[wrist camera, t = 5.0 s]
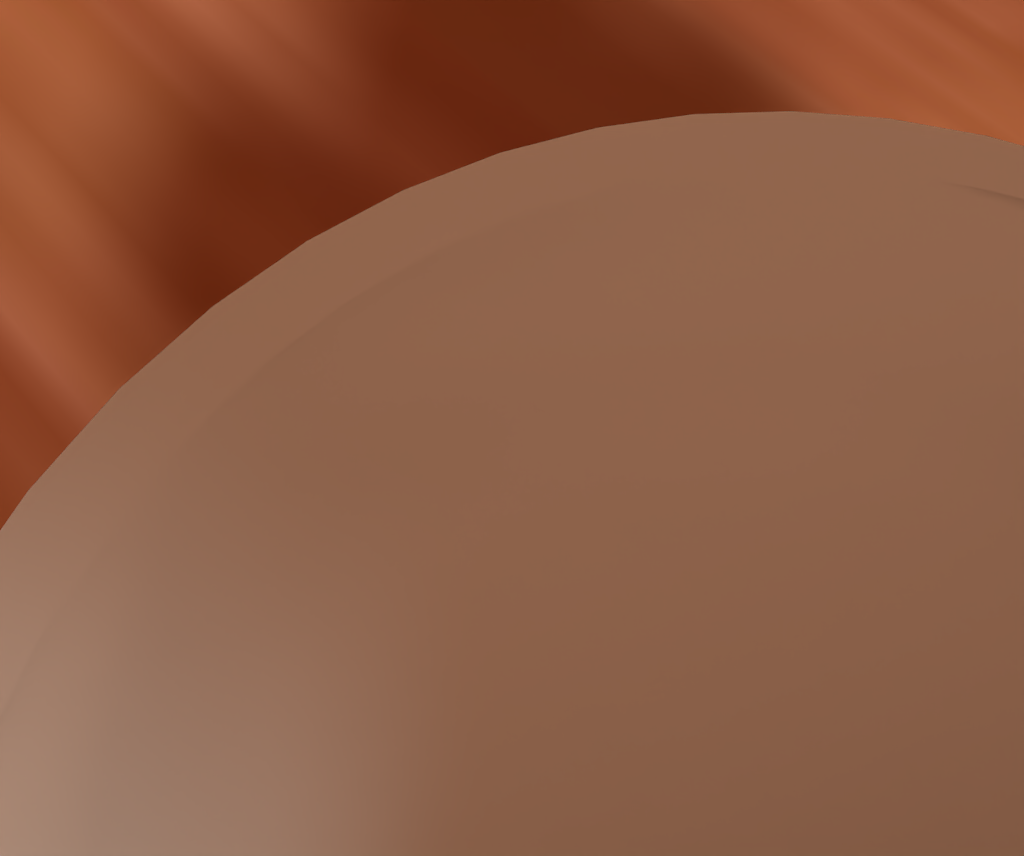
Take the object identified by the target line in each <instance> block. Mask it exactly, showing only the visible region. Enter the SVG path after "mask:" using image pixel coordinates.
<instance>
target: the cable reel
mask: <svg viewBox="0 0 1024 856" xmlns="http://www.w3.org/2000/svg"><path fill="white" fill-rule="evenodd" d="M0 856H1024V146H1021V145H1018V144H1014V143H1011V142H1007V141H1003V140H1000V139H996V138H993V137H989V136H985V135H979V134H974V133H968V132H962V131H957V130H951V129H945V128H940V127H934V126H928V125H923V124H917V123H912V122H906V121H900V120H895V119H889V118H876V117H862V116H849V115H836V114H822V113H809V112H796V111H781V112H747V113H714V114H691V115H684V116H677V117H670V118H663V119H656V120H649V121H641V122H634V123H627V124H620V125H613V126H606V127H599V128H594V129H590V130H586V131H582V132H579V133H575V134H571V135H567V136H563V137H559V138H555V139H551V140H547V141H544V142H540V143H536V144H532V145H528V146H524V147H520V148H516V149H512V150H509V151H505V152H501V153H498V154H495V155H493V156H490V157H488V158H485V159H482V160H480V161H477V162H475V163H472V164H469V165H467V166H464V167H462V168H459V169H457V170H454V171H451V172H449V173H446V174H444V175H441V176H438V177H436V178H433V179H431V180H428V181H425V182H423V183H420V184H418V185H415V186H412V187H410V188H407V189H405V190H402V191H401V192H399V193H397V194H395V195H393V196H391V197H389V198H387V199H385V200H384V201H382V202H380V203H378V204H376V205H374V206H372V207H370V208H368V209H366V210H365V211H363V212H361V213H359V214H357V215H355V216H353V217H351V218H349V219H348V220H346V221H344V222H342V223H340V224H338V225H336V226H334V227H332V228H331V229H329V230H327V231H325V232H323V233H321V234H319V235H317V236H315V237H313V238H312V239H310V240H308V241H306V242H305V243H303V244H302V245H300V246H299V247H298V248H296V249H295V250H293V251H292V252H290V253H289V254H287V255H286V256H285V257H283V258H282V259H280V260H279V261H277V262H276V263H274V264H273V265H272V266H270V267H269V268H267V269H266V270H264V271H263V272H261V273H260V274H259V275H257V276H256V277H254V278H253V279H251V280H250V281H248V282H247V283H246V284H244V285H243V286H241V287H240V288H238V289H237V290H235V291H234V292H233V293H231V294H230V295H228V296H227V297H225V298H224V299H222V300H221V301H220V302H218V303H217V304H215V305H214V306H212V307H211V308H210V309H209V310H208V311H207V312H205V313H204V314H203V315H202V316H201V317H200V318H199V319H198V320H196V321H195V322H194V323H193V324H192V325H191V326H190V327H189V328H187V329H186V330H185V331H184V332H183V333H182V334H181V335H180V336H178V337H177V338H176V339H175V340H174V341H173V342H172V343H170V344H169V345H168V346H167V347H166V348H165V349H164V350H163V351H161V352H160V353H159V354H158V355H157V356H156V357H155V358H154V359H152V360H151V361H150V362H149V363H148V364H147V365H146V366H144V367H143V368H142V369H141V370H140V371H139V372H138V373H137V374H135V375H134V376H133V377H132V378H131V379H130V380H129V381H128V382H126V383H125V384H124V385H123V386H122V387H121V388H120V389H119V390H118V391H117V392H116V393H115V394H114V395H113V396H112V397H111V399H110V400H109V401H108V402H107V403H106V404H105V405H104V406H103V407H102V409H101V410H100V411H99V412H98V413H97V414H96V415H95V416H94V418H93V419H92V420H91V421H90V422H89V423H88V424H87V425H86V427H85V428H84V429H83V430H82V431H81V432H80V433H79V434H78V436H77V437H76V438H75V439H74V440H73V441H72V442H71V443H70V445H69V446H68V447H67V448H66V449H65V450H64V451H63V452H62V453H61V455H60V456H59V457H58V458H57V459H56V460H55V461H54V462H53V464H52V465H51V466H50V467H49V468H48V469H47V470H46V471H45V473H44V474H43V475H42V476H41V477H40V478H39V479H38V480H37V482H36V483H35V484H34V485H33V486H32V487H31V488H30V489H29V491H28V492H27V493H26V495H25V496H24V498H23V499H22V500H21V502H20V503H19V505H18V506H17V508H16V509H15V510H14V512H13V513H12V515H11V516H10V518H9V519H8V520H7V522H6V523H5V525H4V526H3V527H2V529H1V530H0Z"/></svg>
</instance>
